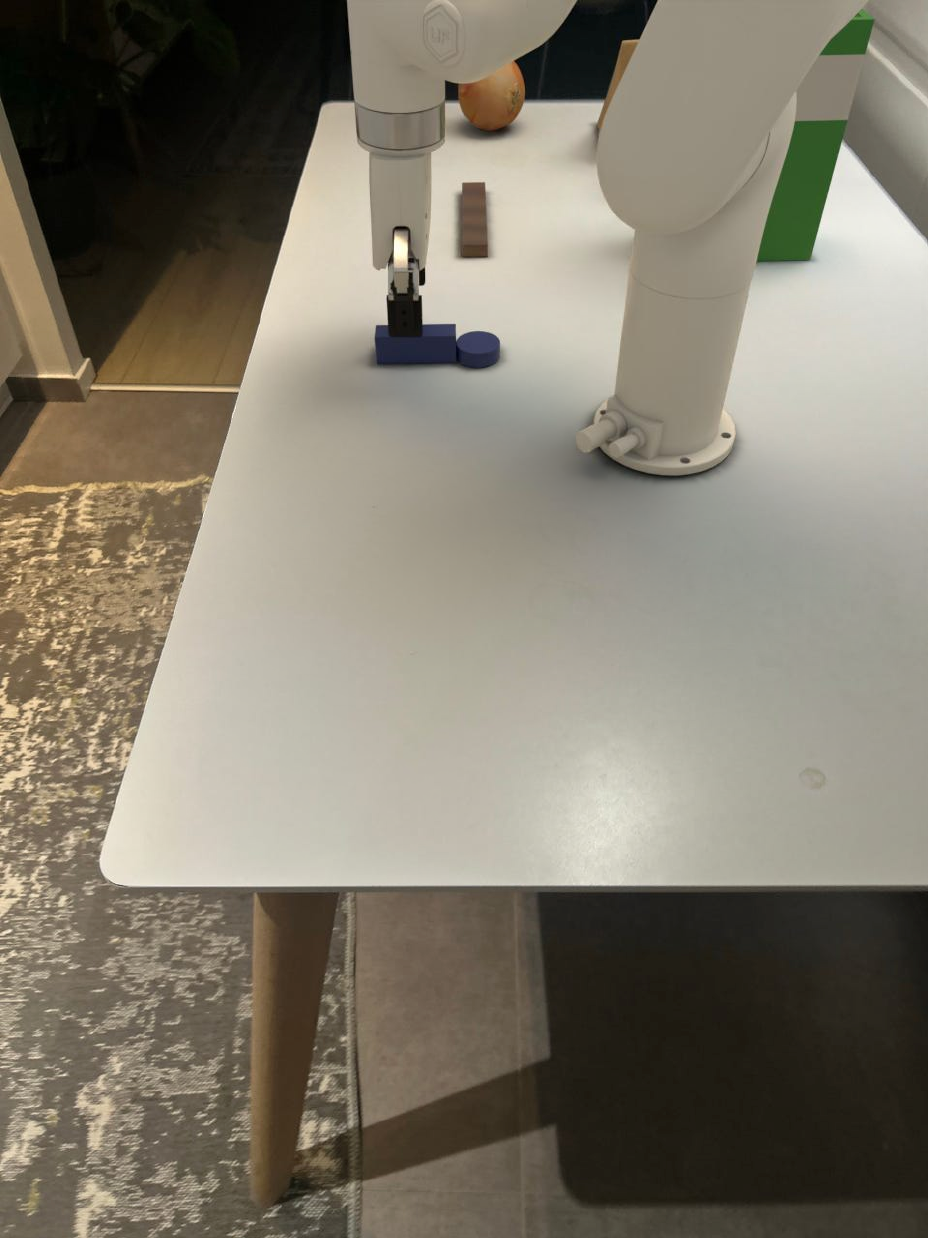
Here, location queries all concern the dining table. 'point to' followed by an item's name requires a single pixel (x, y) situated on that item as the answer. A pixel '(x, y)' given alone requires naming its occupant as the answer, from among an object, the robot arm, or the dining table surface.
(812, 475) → the dining table surface
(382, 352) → the blue block and puck
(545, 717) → the dining table surface
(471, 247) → the walnut strip
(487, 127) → the onion
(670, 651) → the dining table surface
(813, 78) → the hardback book
